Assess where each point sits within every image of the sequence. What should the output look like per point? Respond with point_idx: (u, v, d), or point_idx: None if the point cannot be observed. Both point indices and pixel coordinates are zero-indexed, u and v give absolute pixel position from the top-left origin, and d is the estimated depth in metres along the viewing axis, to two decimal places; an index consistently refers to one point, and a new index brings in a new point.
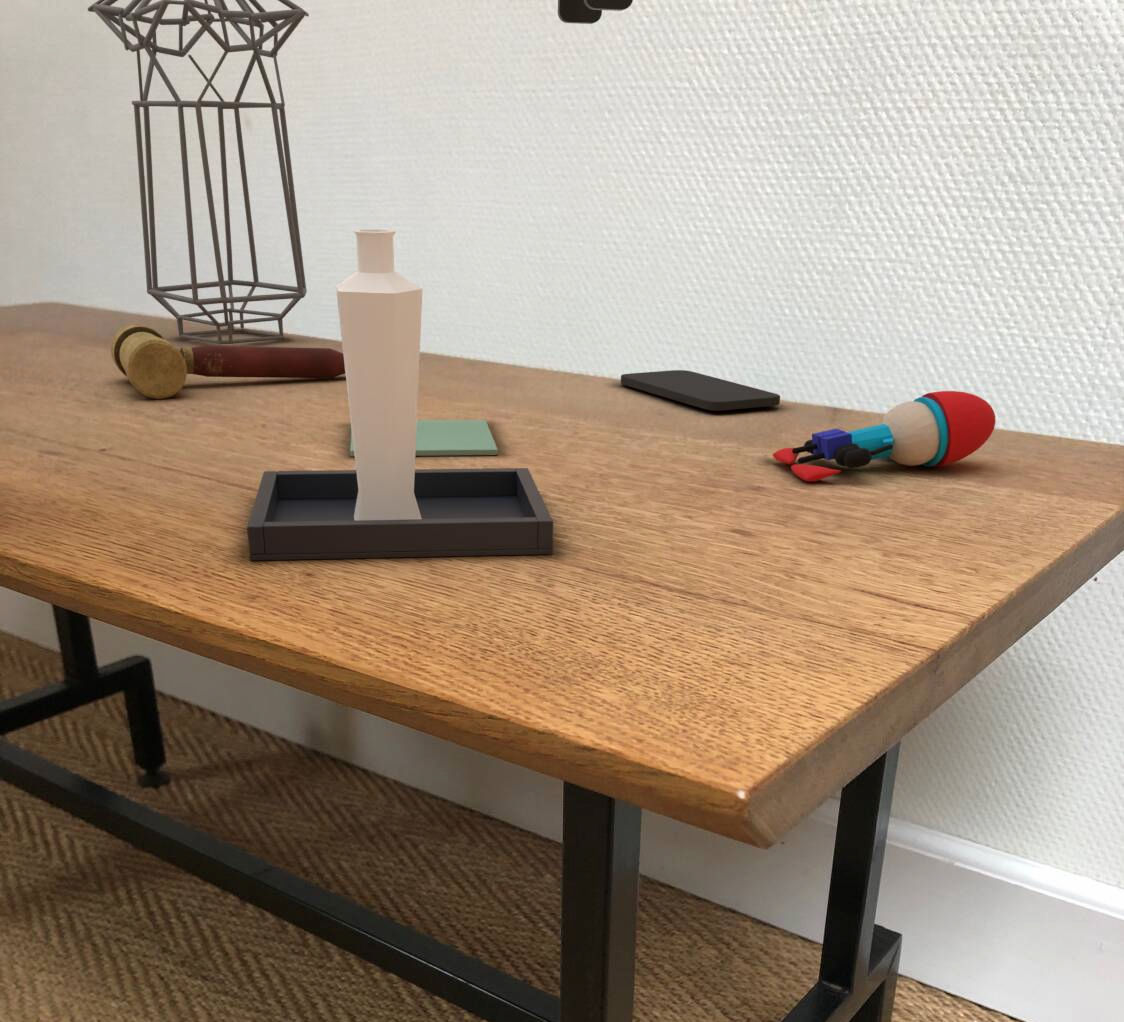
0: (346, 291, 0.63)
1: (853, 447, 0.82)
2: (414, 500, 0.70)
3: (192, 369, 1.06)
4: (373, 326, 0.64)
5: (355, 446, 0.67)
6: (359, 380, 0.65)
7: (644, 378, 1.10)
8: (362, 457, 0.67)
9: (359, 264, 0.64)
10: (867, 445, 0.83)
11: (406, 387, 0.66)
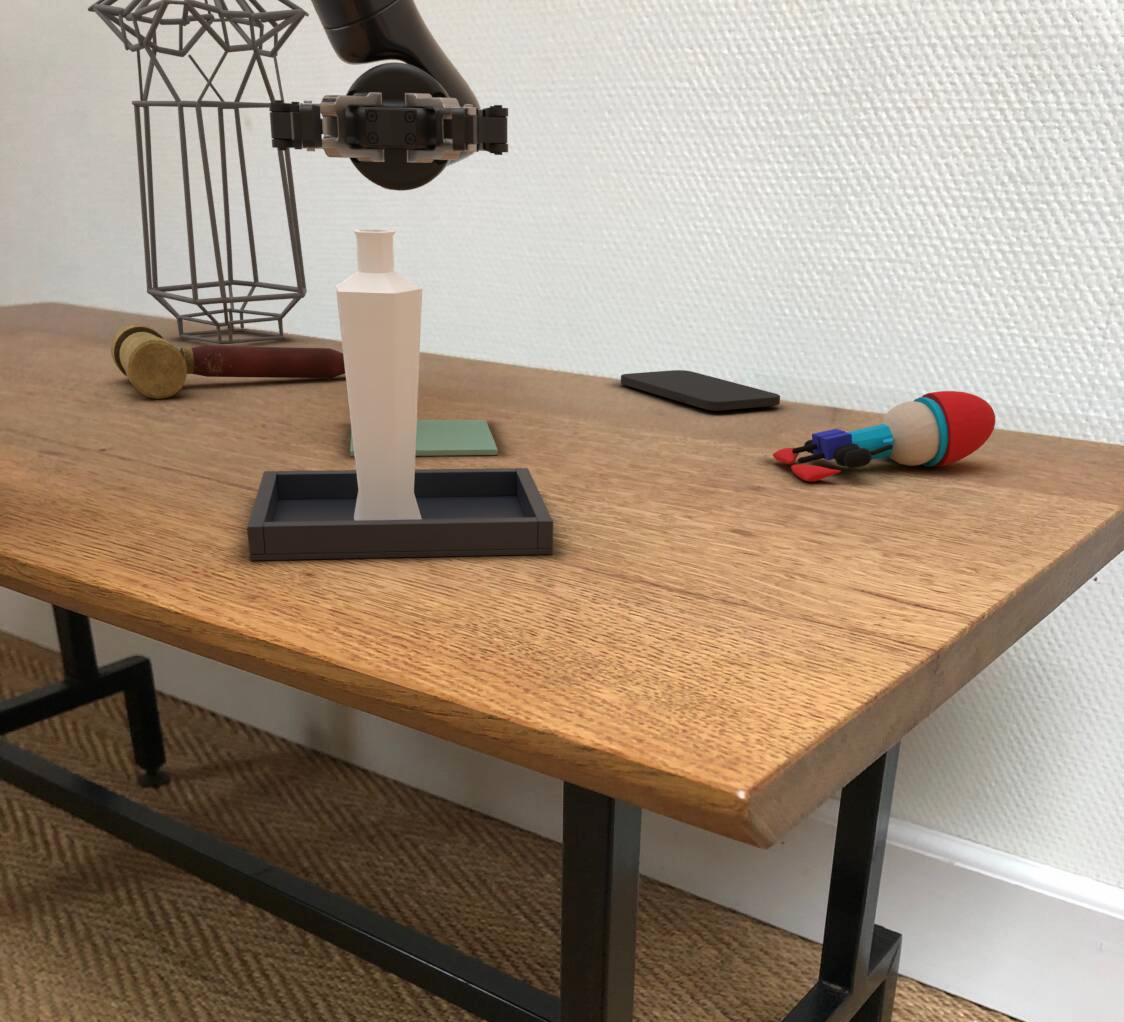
0: (346, 291, 0.63)
1: (853, 447, 0.82)
2: (414, 500, 0.70)
3: (192, 369, 1.06)
4: (373, 326, 0.64)
5: (355, 446, 0.67)
6: (359, 380, 0.65)
7: (644, 378, 1.10)
8: (362, 457, 0.67)
9: (359, 264, 0.64)
10: (867, 445, 0.83)
11: (406, 387, 0.66)
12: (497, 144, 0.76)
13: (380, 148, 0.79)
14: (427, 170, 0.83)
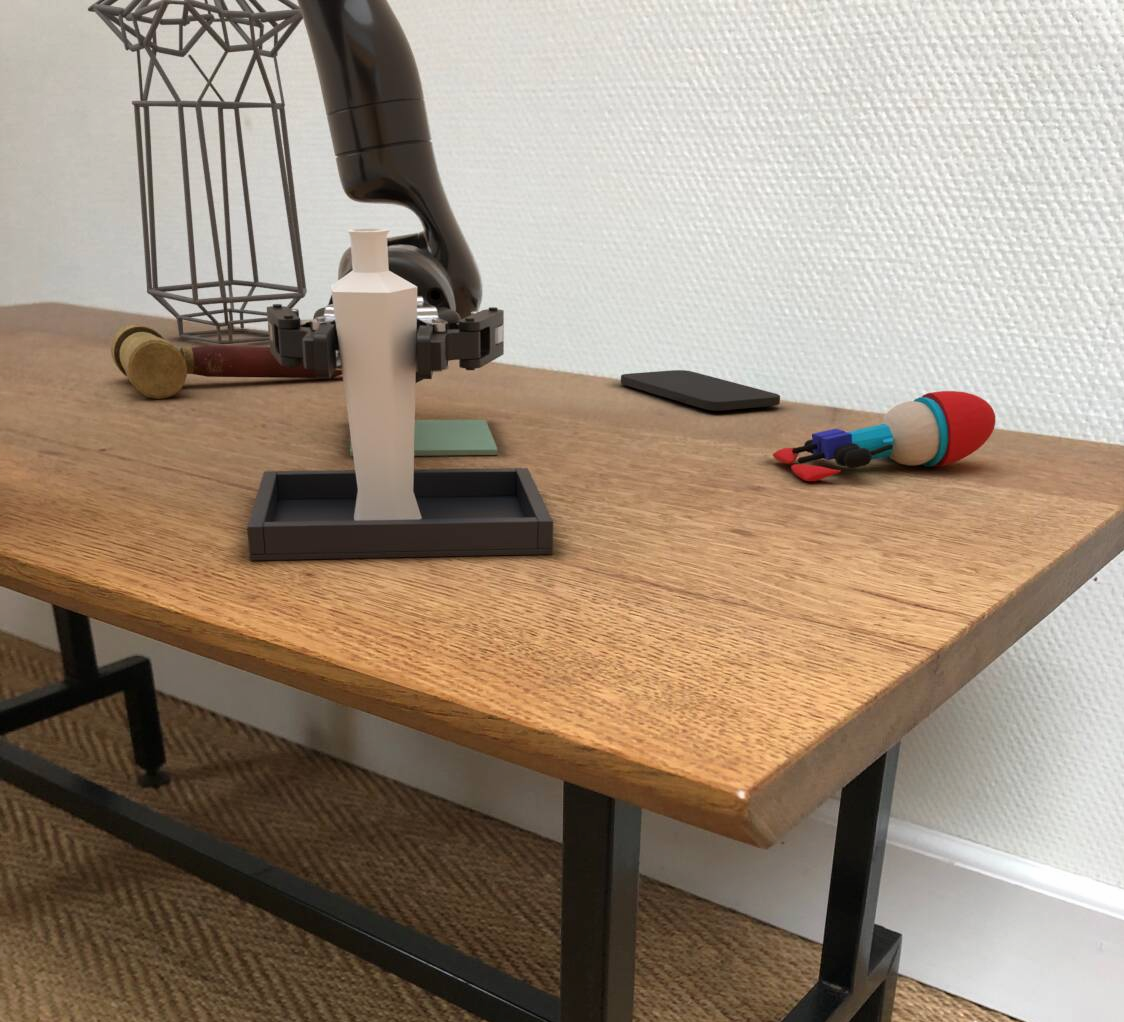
0: (341, 292, 0.63)
1: (853, 447, 0.82)
2: (414, 499, 0.70)
3: (192, 369, 1.06)
4: (369, 326, 0.64)
5: (353, 446, 0.67)
6: (356, 380, 0.65)
7: (644, 378, 1.10)
8: (360, 457, 0.67)
9: (353, 264, 0.64)
10: (867, 445, 0.83)
11: (403, 386, 0.66)
12: (465, 360, 0.68)
13: None
14: None
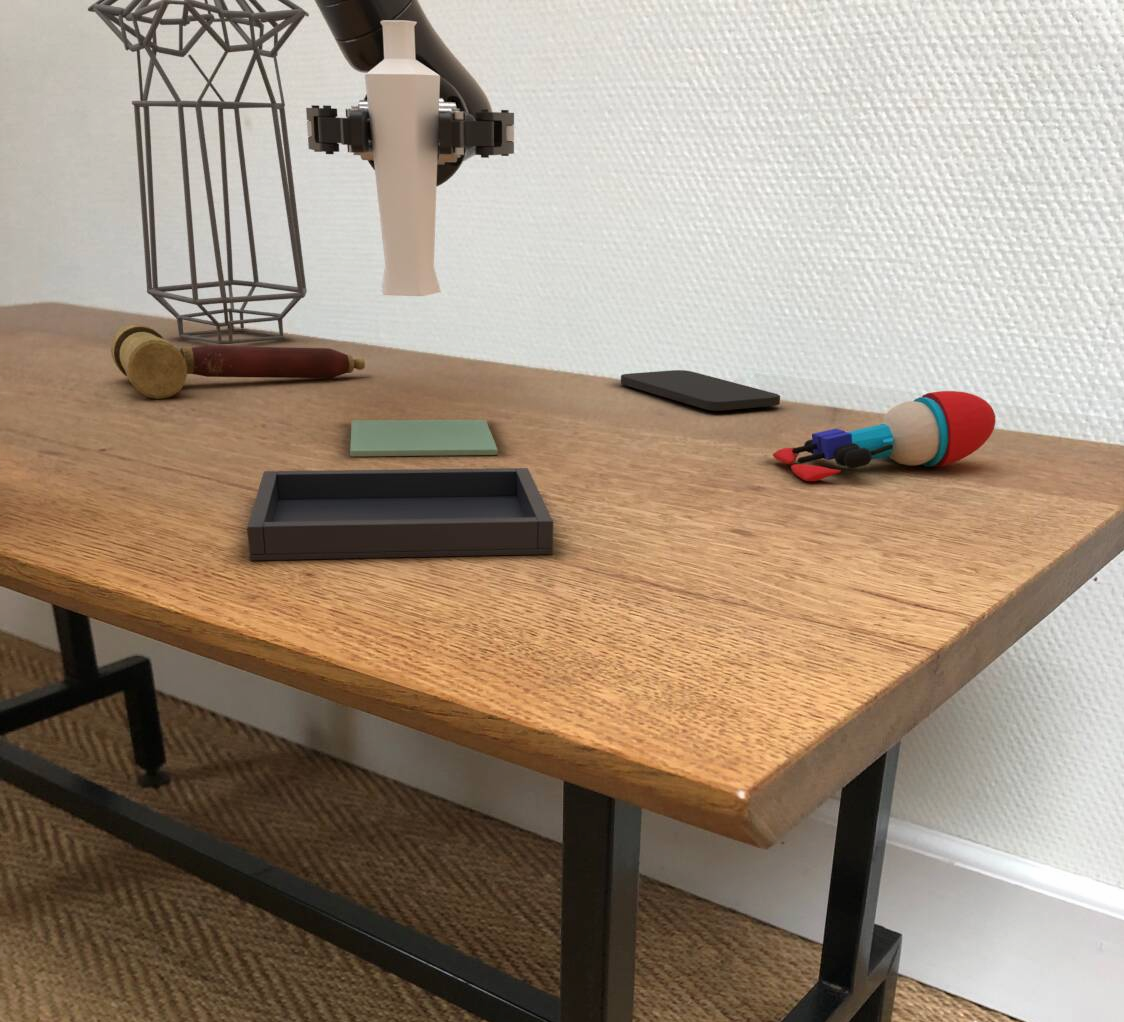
0: (374, 73, 0.73)
1: (853, 447, 0.82)
2: (434, 273, 0.80)
3: (192, 369, 1.06)
4: (398, 105, 0.74)
5: (382, 219, 0.77)
6: (386, 157, 0.75)
7: (644, 378, 1.10)
8: (388, 229, 0.77)
9: (385, 51, 0.74)
10: (867, 445, 0.83)
11: (427, 164, 0.76)
12: (481, 147, 0.78)
13: None
14: (442, 171, 0.86)
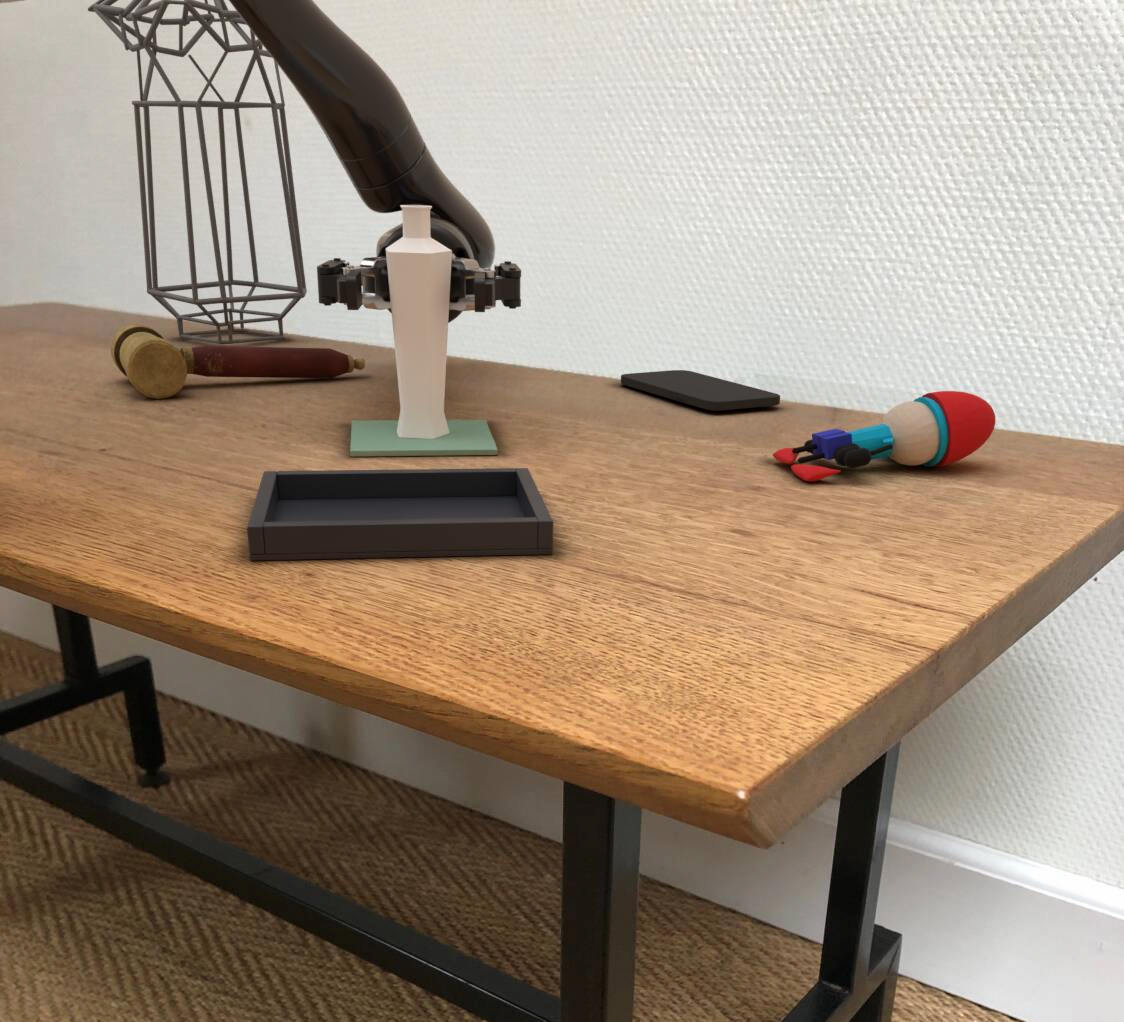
0: (394, 252, 0.83)
1: (853, 447, 0.82)
2: (444, 417, 0.90)
3: (192, 369, 1.06)
4: (414, 278, 0.84)
5: (399, 373, 0.87)
6: (403, 321, 0.85)
7: (644, 378, 1.10)
8: (404, 381, 0.87)
9: (404, 231, 0.84)
10: (867, 445, 0.83)
11: (439, 327, 0.86)
12: (512, 300, 0.89)
13: None
14: (449, 312, 0.96)
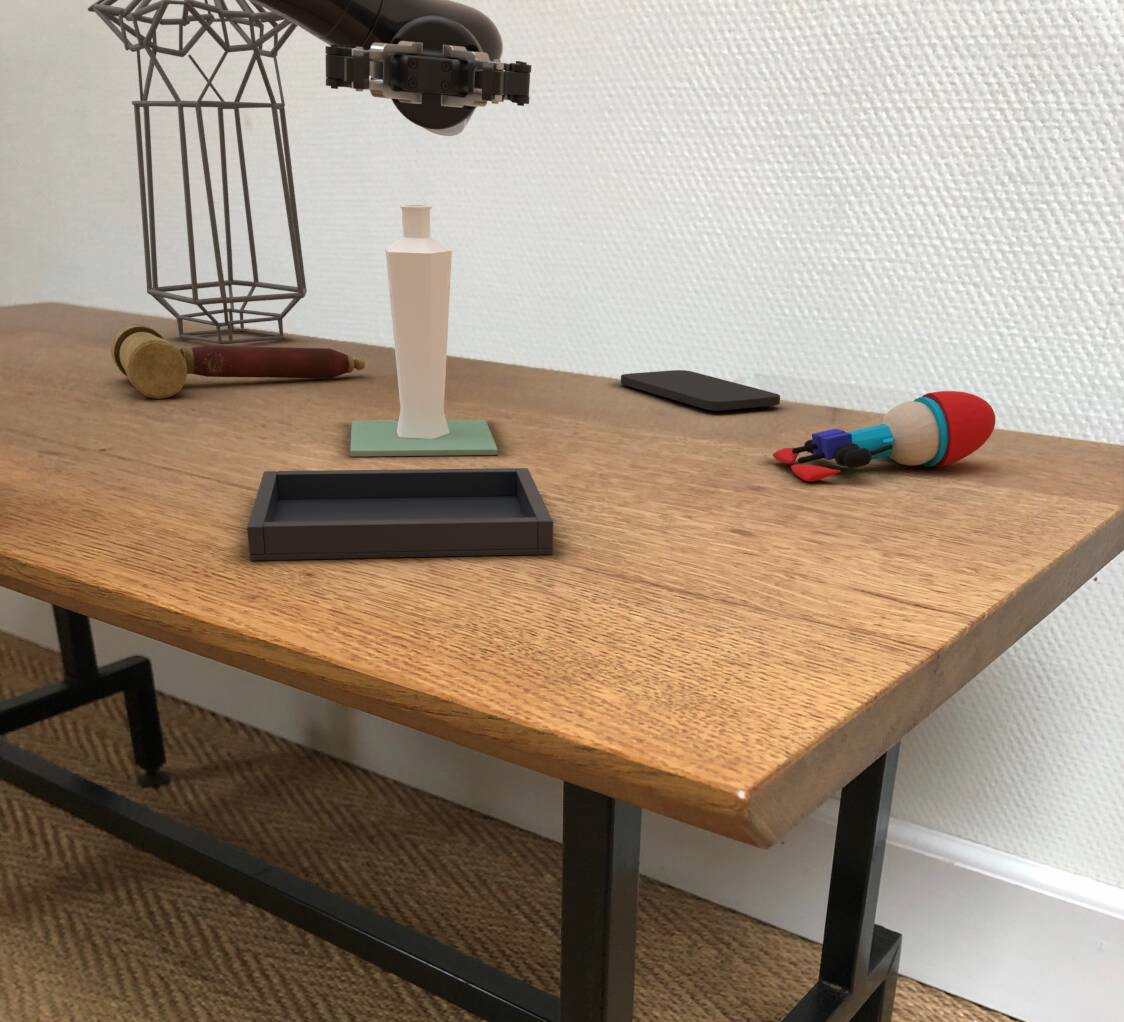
0: (394, 252, 0.83)
1: (853, 447, 0.82)
2: (444, 417, 0.90)
3: (192, 369, 1.06)
4: (414, 278, 0.84)
5: (399, 373, 0.87)
6: (403, 321, 0.85)
7: (644, 378, 1.10)
8: (404, 381, 0.87)
9: (404, 231, 0.84)
10: (867, 445, 0.83)
11: (439, 327, 0.86)
12: (520, 96, 0.88)
13: (418, 91, 0.91)
14: (458, 113, 0.95)
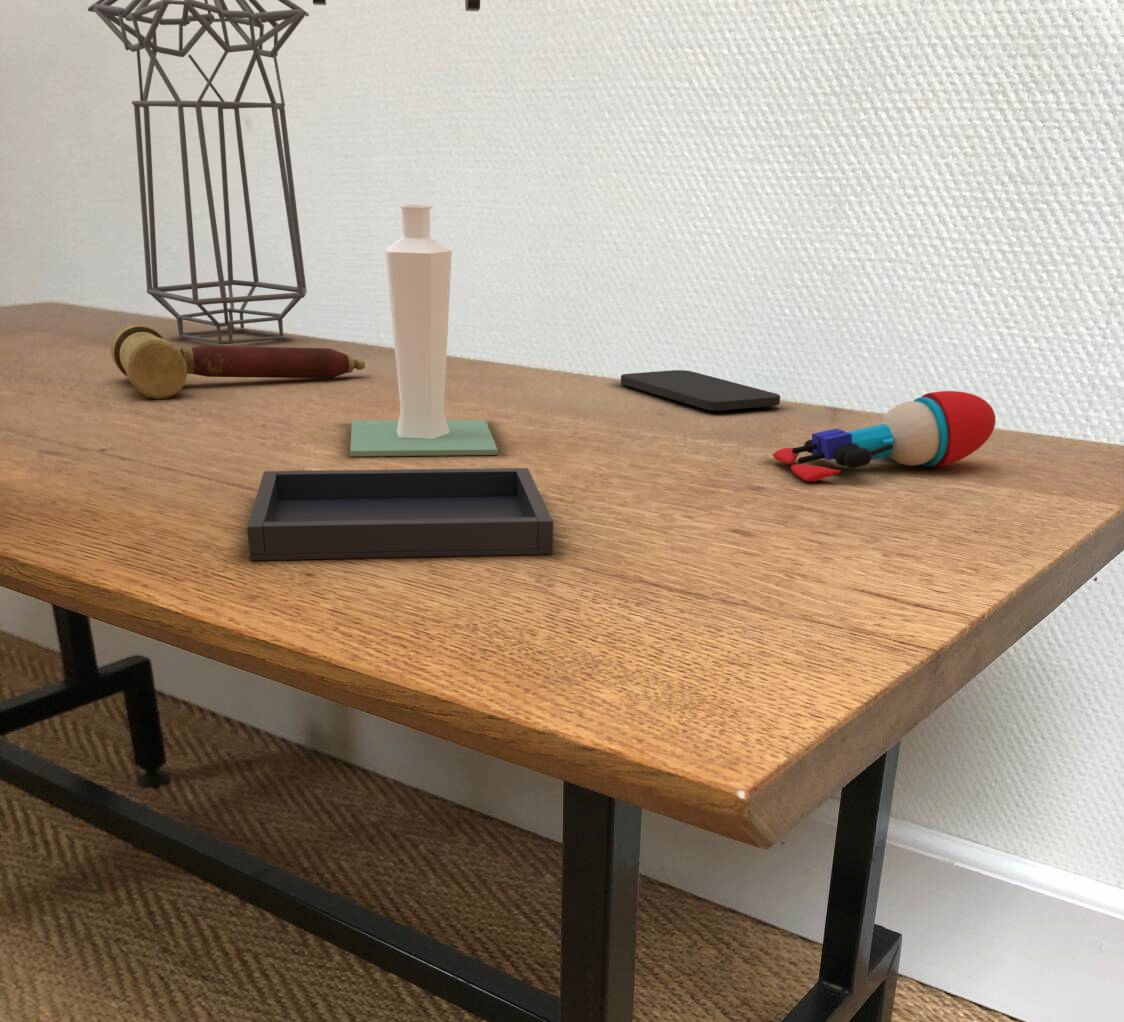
0: (394, 252, 0.83)
1: (853, 447, 0.82)
2: (444, 417, 0.90)
3: (192, 369, 1.06)
4: (414, 278, 0.84)
5: (399, 373, 0.87)
6: (403, 321, 0.85)
7: (644, 378, 1.10)
8: (404, 381, 0.87)
9: (404, 231, 0.84)
10: (867, 445, 0.83)
11: (439, 327, 0.86)
12: None
13: None
14: None
